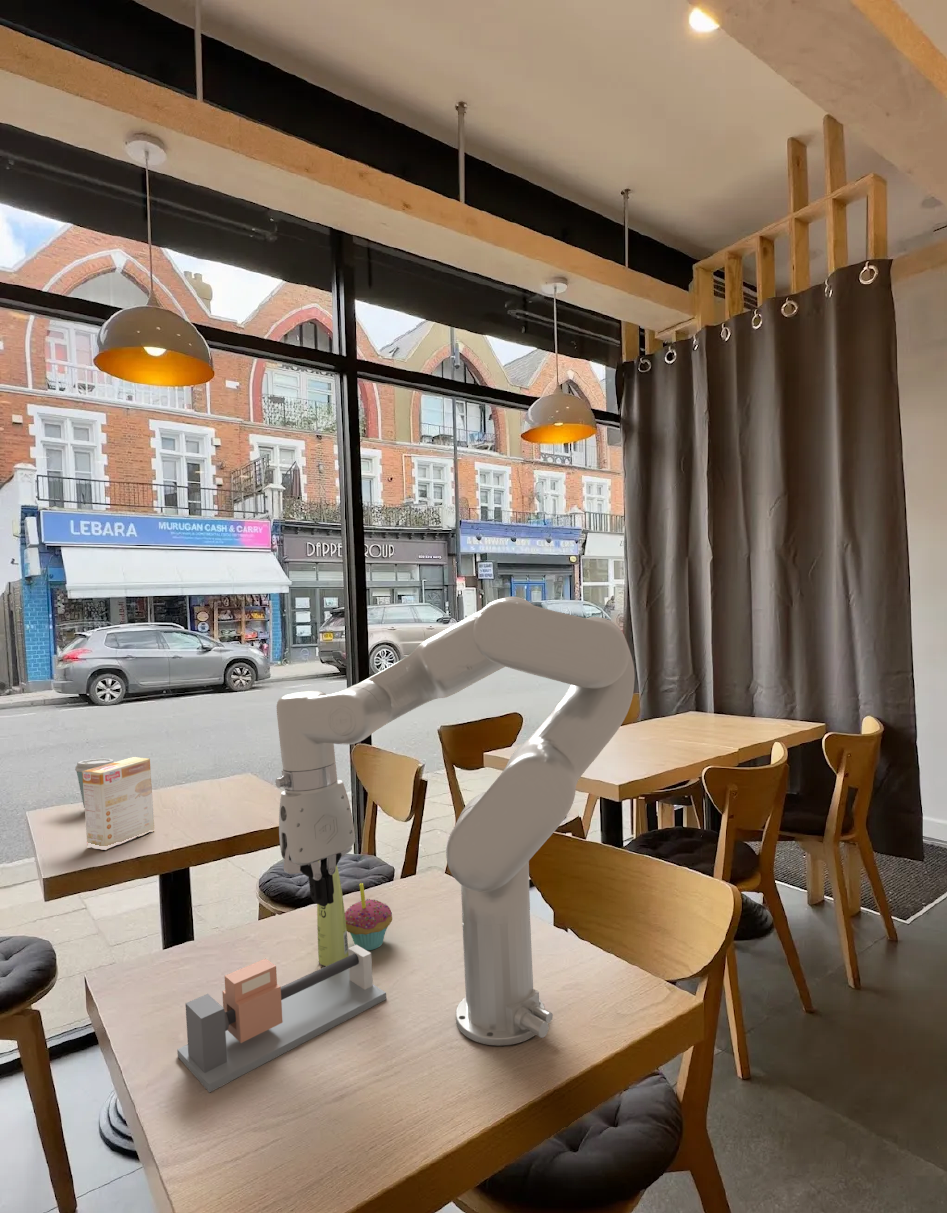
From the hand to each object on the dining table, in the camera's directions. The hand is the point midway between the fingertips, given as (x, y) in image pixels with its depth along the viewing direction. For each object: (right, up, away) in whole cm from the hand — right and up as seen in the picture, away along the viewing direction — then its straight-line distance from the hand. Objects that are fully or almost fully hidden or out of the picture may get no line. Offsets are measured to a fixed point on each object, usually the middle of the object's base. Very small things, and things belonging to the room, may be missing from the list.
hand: (323, 902), depth 105 cm
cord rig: (-4, -16, -3) cm, 17 cm away
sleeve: (-8, -14, -7) cm, 17 cm away
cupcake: (+4, -15, +20) cm, 25 cm away
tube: (-1, -16, +15) cm, 22 cm away
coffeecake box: (-68, -17, +80) cm, 106 cm away
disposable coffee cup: (-88, -17, +107) cm, 139 cm away
